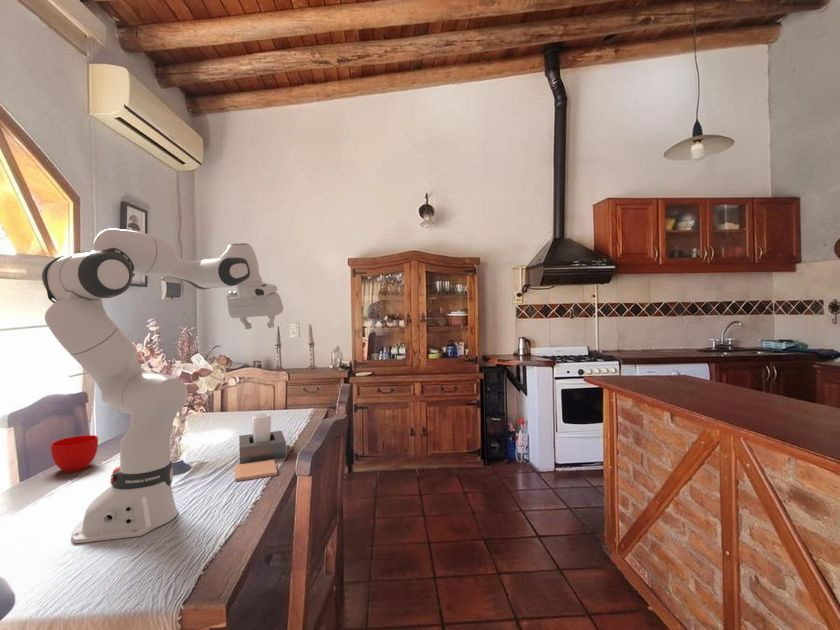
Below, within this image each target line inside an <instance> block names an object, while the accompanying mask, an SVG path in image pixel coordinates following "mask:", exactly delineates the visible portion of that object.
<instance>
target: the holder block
mask: <svg viewBox="0 0 840 630" xmlns="http://www.w3.org/2000/svg"><path fill="white" fill-rule="evenodd" d="M238 437H239V440H238V441H239V465H240V464H247V463H254V462H261V461H268V460H278V459H284V458H287V446H286V445H287V441H286V439H285V435H284V434H283V431H282V430H277V431H271V432H270V441H265V442H257V443H254V438H253V433H250V434H242V435H239V436H238Z"/></svg>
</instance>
